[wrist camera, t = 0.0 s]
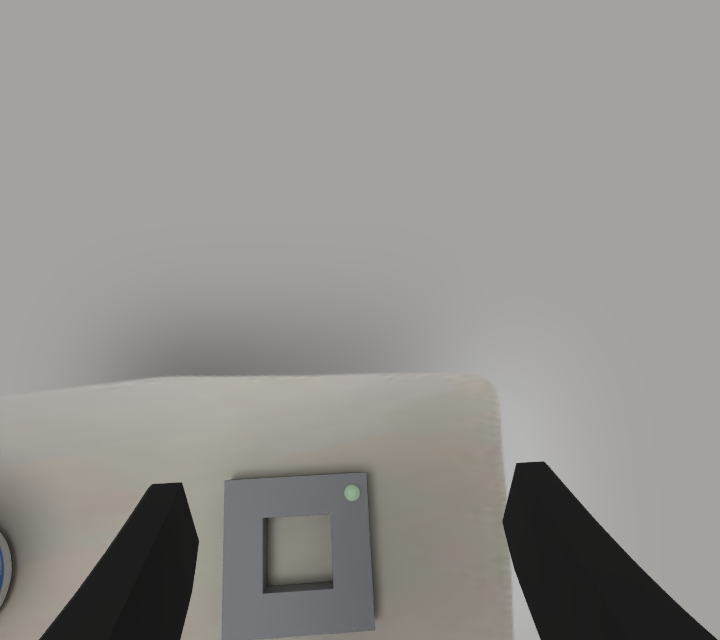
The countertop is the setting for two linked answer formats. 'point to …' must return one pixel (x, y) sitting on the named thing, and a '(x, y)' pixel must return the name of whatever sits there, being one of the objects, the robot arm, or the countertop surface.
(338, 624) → the port
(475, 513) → the countertop surface
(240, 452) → the countertop surface
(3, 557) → the supplement tub
